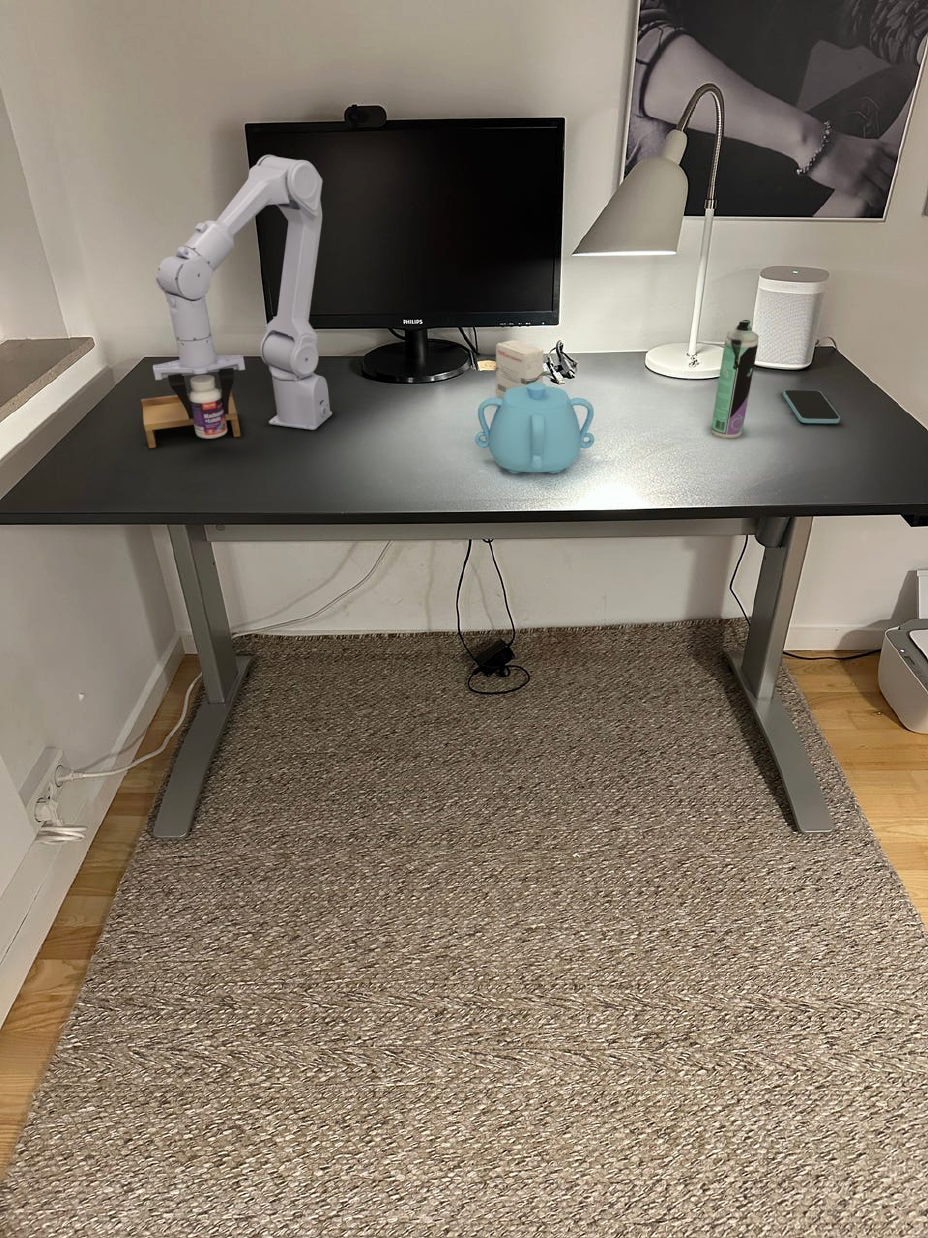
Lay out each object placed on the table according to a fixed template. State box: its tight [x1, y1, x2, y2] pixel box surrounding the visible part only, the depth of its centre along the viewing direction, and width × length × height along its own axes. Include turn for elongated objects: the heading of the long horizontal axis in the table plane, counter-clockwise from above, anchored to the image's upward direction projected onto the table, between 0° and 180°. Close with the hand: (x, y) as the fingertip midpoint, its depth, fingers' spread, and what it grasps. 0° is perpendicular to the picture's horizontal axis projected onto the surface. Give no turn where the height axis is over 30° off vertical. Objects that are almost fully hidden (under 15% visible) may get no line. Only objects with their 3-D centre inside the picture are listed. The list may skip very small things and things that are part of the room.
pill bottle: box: [188, 374, 228, 440], centre depth 154 cm, size 5×5×10 cm
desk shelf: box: [140, 389, 241, 449], centre depth 164 cm, size 16×9×6 cm, turn 107°
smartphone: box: [782, 389, 841, 424], centre depth 171 cm, size 7×1×15 cm
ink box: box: [495, 339, 544, 399], centre depth 170 cm, size 9×5×12 cm, turn 39°
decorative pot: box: [474, 382, 595, 474], centre depth 151 cm, size 16×16×14 cm
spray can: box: [710, 319, 760, 439], centre depth 158 cm, size 6×6×20 cm
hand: (208, 414), depth 155 cm, fingers closed on pill bottle, 5 cm apart
